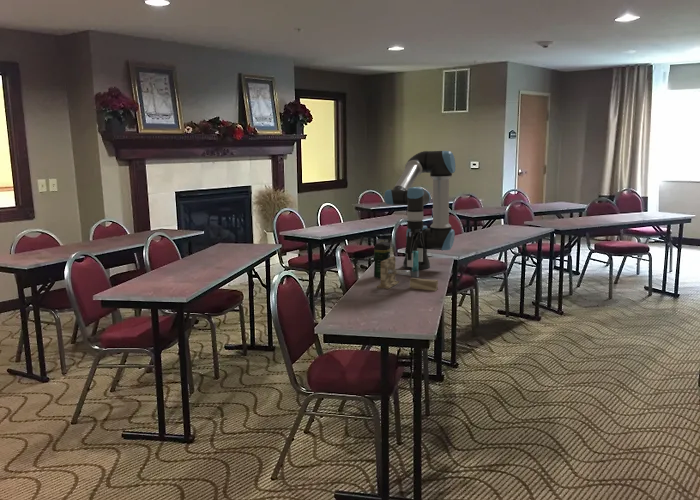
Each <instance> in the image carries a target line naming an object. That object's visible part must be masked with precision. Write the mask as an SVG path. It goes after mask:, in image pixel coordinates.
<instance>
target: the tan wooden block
mask: <svg viewBox="0 0 700 500" xmlns="http://www.w3.org/2000/svg"><path fill="white" fill-rule="evenodd" d="M388 269H393V270H396V257H395V256H390V258H388V259H386V260H384V261H381V278H380V284H379V285H376V288H377V289H384V288H386V290H390V288H392V287H394V286H396V285H398V284H399V283H400V281H398V280H396V274H388Z"/></svg>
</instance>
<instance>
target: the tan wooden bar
mask: <svg viewBox="0 0 700 500" xmlns="http://www.w3.org/2000/svg"><path fill="white" fill-rule="evenodd" d="M409 289H416V290H425V291H434V292H435V291H437V290H439V279H427V278H426V279H425V278H419V277H417V278H415V277H410V278H409Z"/></svg>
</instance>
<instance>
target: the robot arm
mask: <svg viewBox="0 0 700 500" xmlns="http://www.w3.org/2000/svg"><path fill="white" fill-rule="evenodd" d="M455 171H456V159H455V156H454V153H453V152H452V151H450V150H423V151H420V152H418V153H416V154H414V155H413V156H411V157H410V158H409V159H408V160H407V161H406V164H405V166H404V170H403V172H402V173H401V175H400V176H399V179H398V180H397V181H396V183H395V185H394V187H393V188H391V189H387V190H385V191H384V195H383V196H384V197H383V199H384V203H385V204H386V205H391V206H406V207H407V208H406V209H407V210H406V211H407V212H406V216H407V218H406V219H407V222H406V224H407V226H406V231H405V233H406V234H405V237H406V239H405V243H406V244H405V245H406V246H405V249H404V250H405V251H404V253H405V256H404V260H403V262H402V267H403V268H404V269H408V270H412V267H413V253H412V252H413V251H418V270H419V271H420V270H427V269H430V268H431V262H430V259H429V256H428V250H433V251H450V250H451V249H452V248H453V245H454V241H455V236H456V235H455V234H456V232H455V231H456V230H454V229H452V225H451V224H450V222H449V220H450V217H449V216H450V214H449V213H450V211H449V210H450V209H449V207H450V193H449V192H450V179H451V178H452V177H453V173H455ZM422 173H424V174H425V173H429V176H430V179H432V196H431V192H430V191H428V190H426V189H424V188H423V187H418V186H417V187H415V186H414V187H413V185H414V183H415V181H416V179H417V178H418V176H420V175H421V174H422ZM431 199H432V223H431V225H429V228H428V226H427V225H424V206H426V205H428V204H429V203H430V202H431Z"/></svg>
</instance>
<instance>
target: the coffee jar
mask: <svg viewBox="0 0 700 500" xmlns="http://www.w3.org/2000/svg"><path fill="white" fill-rule="evenodd" d="M373 251H374V252H373V253H374V256H373V257H374V265H373V267H374V268H373V277H374V278H376V279H381V261H384V260H386V259H388V258H390V257H391V243H390V242H389V241H380V242H378V243H375V244H374V246H373Z"/></svg>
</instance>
